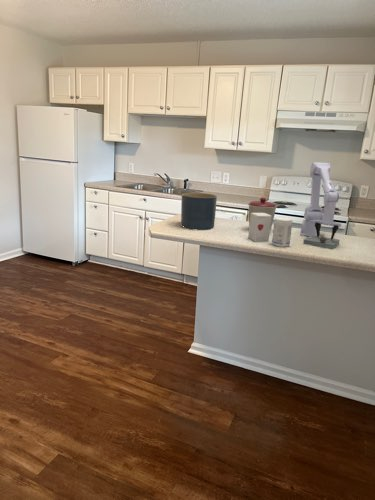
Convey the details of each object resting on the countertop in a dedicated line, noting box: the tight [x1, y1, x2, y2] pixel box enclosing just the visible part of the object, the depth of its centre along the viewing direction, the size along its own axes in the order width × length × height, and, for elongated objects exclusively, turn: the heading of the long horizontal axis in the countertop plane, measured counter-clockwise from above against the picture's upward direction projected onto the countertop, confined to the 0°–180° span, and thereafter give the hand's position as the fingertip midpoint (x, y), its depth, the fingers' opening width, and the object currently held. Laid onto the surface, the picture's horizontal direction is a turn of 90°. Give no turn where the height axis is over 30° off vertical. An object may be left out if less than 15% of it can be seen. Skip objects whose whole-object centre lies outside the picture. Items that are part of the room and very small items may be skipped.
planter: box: [180, 192, 218, 231], centre depth 236 cm, size 22×22×20 cm
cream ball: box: [319, 231, 325, 237], centre depth 214 cm, size 3×3×3 cm
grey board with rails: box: [302, 235, 341, 250], centre depth 209 cm, size 16×15×3 cm
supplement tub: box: [271, 216, 293, 248], centre depth 201 cm, size 10×10×15 cm
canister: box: [247, 197, 278, 230], centre depth 232 cm, size 18×18×21 cm
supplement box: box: [247, 213, 271, 242], centre depth 210 cm, size 9×9×15 cm
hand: (324, 237), depth 207 cm, fingers open, 7 cm apart
